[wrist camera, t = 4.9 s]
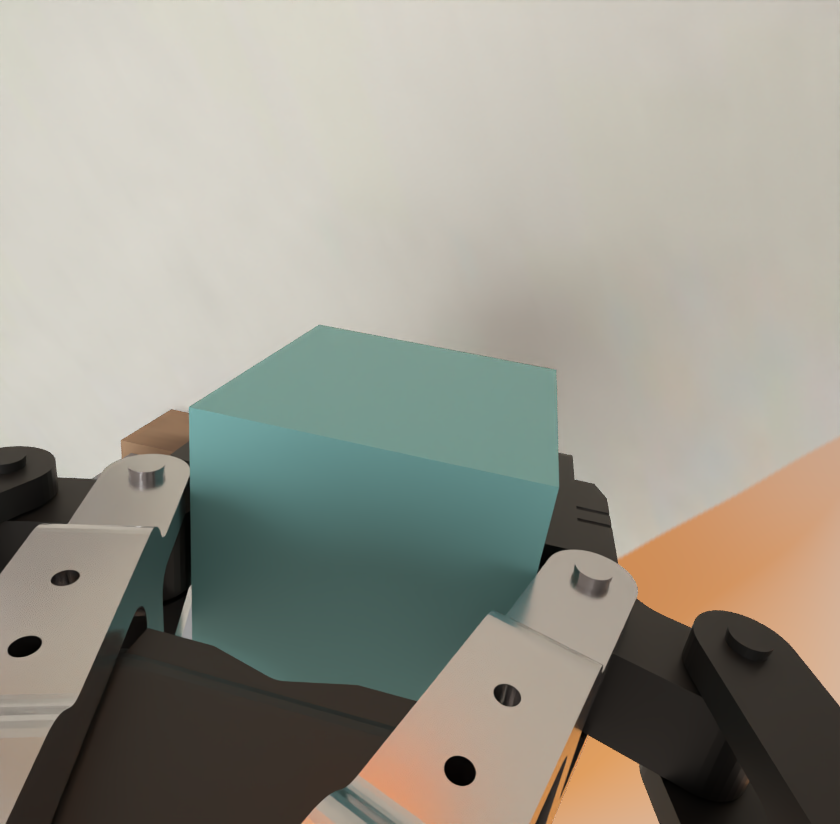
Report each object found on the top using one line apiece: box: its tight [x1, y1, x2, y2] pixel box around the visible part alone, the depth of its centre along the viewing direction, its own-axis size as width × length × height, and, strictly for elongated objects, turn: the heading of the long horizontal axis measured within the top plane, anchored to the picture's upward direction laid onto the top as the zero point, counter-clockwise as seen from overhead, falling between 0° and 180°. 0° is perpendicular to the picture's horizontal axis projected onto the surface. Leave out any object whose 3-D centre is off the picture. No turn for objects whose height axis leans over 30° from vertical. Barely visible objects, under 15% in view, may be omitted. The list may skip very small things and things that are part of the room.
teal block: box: [189, 325, 559, 701], centre depth 11 cm, size 5×5×5 cm
